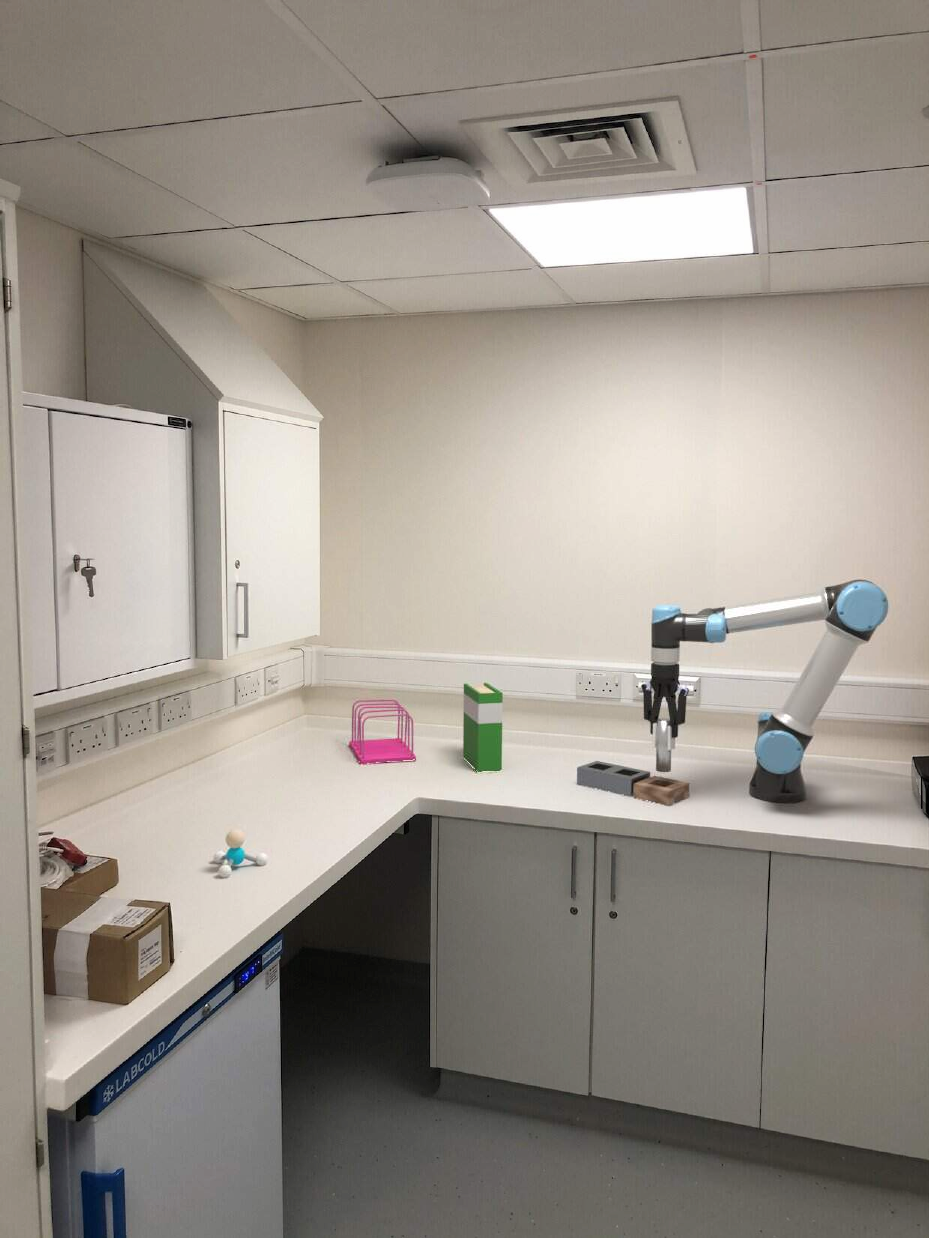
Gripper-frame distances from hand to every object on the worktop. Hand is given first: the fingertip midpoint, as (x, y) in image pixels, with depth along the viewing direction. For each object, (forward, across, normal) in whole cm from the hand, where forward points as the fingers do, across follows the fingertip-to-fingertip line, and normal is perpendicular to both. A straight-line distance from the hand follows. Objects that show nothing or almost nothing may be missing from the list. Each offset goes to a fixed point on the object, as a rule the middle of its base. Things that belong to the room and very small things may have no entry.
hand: (663, 747), depth 265 cm
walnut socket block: (+14, 0, 0) cm, 14 cm away
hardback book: (+14, +59, +7) cm, 61 cm away
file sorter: (+13, +92, +18) cm, 95 cm away
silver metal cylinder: (+6, 0, 0) cm, 6 cm away
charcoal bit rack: (+14, +16, 0) cm, 21 cm away
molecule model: (+14, +43, +110) cm, 119 cm away
